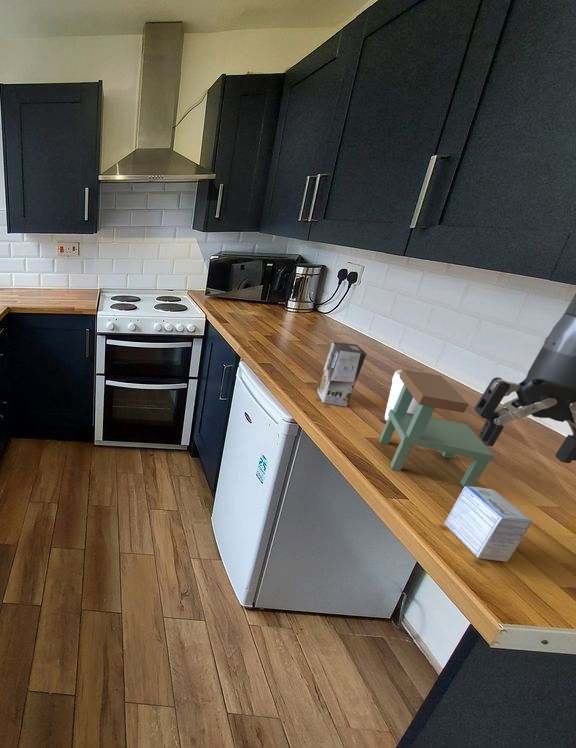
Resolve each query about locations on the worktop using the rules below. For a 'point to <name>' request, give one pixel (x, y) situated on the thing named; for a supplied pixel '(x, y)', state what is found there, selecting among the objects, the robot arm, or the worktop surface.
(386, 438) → the step stool
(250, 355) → the worktop surface
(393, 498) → the worktop surface
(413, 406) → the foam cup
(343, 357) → the coffee box
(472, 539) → the medicine box
